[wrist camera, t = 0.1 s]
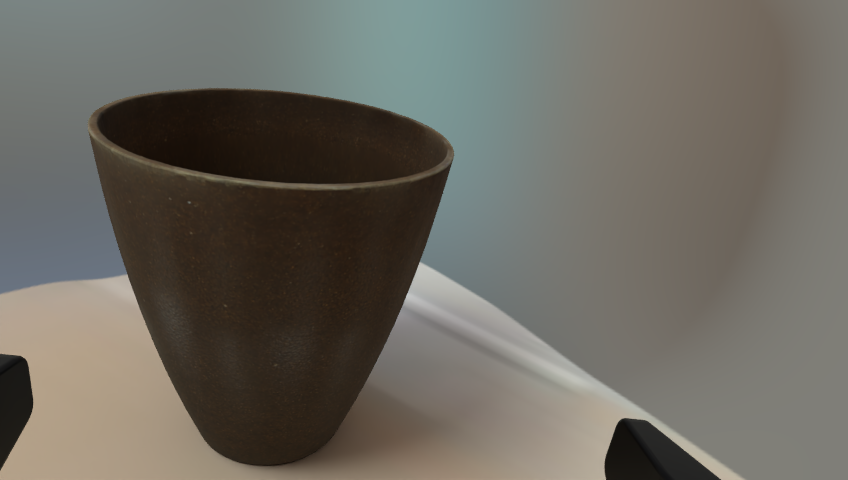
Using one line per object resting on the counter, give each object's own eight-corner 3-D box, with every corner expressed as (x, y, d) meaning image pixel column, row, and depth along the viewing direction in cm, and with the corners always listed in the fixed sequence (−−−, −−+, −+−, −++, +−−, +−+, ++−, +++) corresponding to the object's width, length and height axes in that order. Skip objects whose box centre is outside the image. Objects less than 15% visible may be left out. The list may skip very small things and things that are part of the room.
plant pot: (143, 590, 23) (121, 199, 17) (93, 367, 34) (68, 80, 28) (458, 469, 31) (525, 174, 25) (335, 320, 42) (359, 90, 36)
